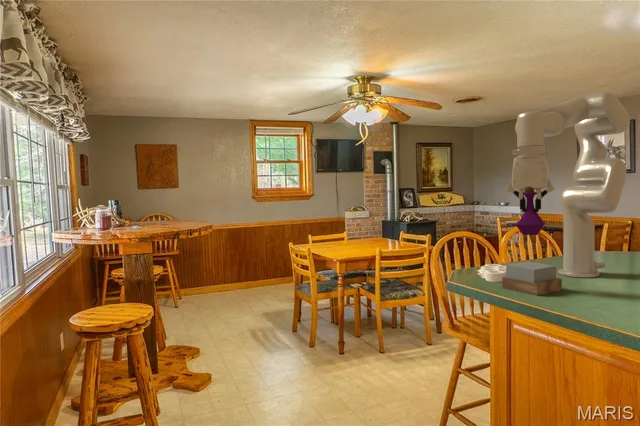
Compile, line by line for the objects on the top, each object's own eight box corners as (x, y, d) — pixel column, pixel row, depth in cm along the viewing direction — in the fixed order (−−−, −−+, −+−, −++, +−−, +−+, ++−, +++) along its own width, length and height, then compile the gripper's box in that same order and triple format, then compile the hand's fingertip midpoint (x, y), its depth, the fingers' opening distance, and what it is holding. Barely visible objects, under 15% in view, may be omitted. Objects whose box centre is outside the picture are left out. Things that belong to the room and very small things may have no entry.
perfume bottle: (542, 236, 131) (542, 176, 130) (515, 235, 135) (515, 177, 134) (545, 233, 138) (544, 176, 137) (519, 232, 142) (518, 177, 141)
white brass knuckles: (523, 284, 145) (477, 282, 150) (518, 273, 162) (476, 272, 167) (523, 274, 145) (477, 272, 150) (518, 264, 162) (476, 263, 167)
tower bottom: (526, 284, 145) (526, 272, 145) (561, 291, 135) (561, 278, 134) (502, 289, 139) (502, 277, 139) (537, 297, 129) (537, 284, 128)
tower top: (527, 273, 143) (527, 261, 143) (556, 278, 134) (556, 266, 134) (506, 277, 139) (506, 264, 139) (534, 283, 130) (534, 269, 130)
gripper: (499, 153, 136) (500, 212, 138) (559, 150, 128) (559, 212, 129) (504, 154, 143) (504, 211, 144) (561, 151, 134) (561, 211, 135)
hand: (530, 211), depth 136 cm, fingers closed on perfume bottle, 3 cm apart
